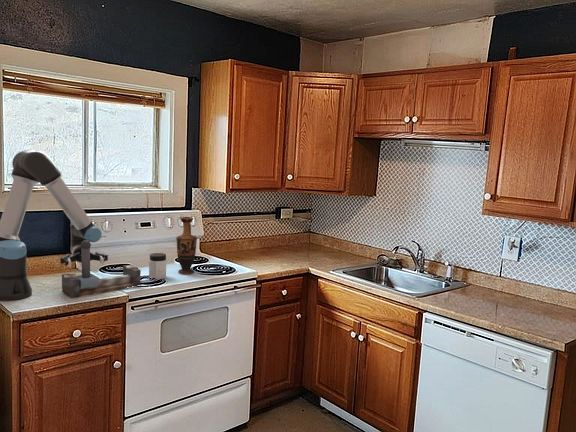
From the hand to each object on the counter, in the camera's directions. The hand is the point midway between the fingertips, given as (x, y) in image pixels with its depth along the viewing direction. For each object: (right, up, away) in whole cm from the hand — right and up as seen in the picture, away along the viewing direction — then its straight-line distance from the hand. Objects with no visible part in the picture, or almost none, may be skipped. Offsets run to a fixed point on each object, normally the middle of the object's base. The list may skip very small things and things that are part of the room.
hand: (86, 263), depth 218 cm
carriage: (-2, -10, +4) cm, 11 cm away
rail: (+3, -13, +10) cm, 17 cm away
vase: (+35, -10, +45) cm, 58 cm away
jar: (+23, -11, +33) cm, 42 cm away
